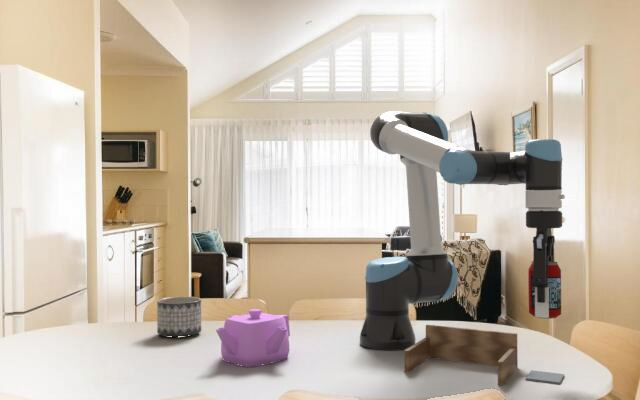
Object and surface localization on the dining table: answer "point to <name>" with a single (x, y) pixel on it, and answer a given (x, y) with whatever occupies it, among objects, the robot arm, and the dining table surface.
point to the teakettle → (255, 338)
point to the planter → (179, 316)
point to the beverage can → (554, 290)
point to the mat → (545, 377)
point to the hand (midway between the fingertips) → (544, 314)
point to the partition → (466, 349)
